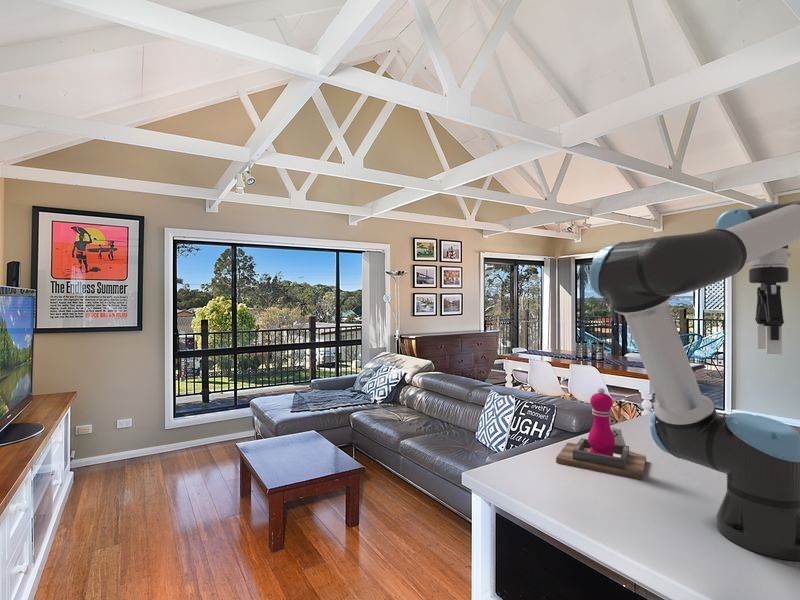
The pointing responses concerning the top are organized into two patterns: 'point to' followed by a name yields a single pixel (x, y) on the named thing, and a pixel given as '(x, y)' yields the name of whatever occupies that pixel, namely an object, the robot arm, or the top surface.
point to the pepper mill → (601, 424)
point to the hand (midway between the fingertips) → (768, 351)
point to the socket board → (603, 459)
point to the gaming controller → (618, 435)
